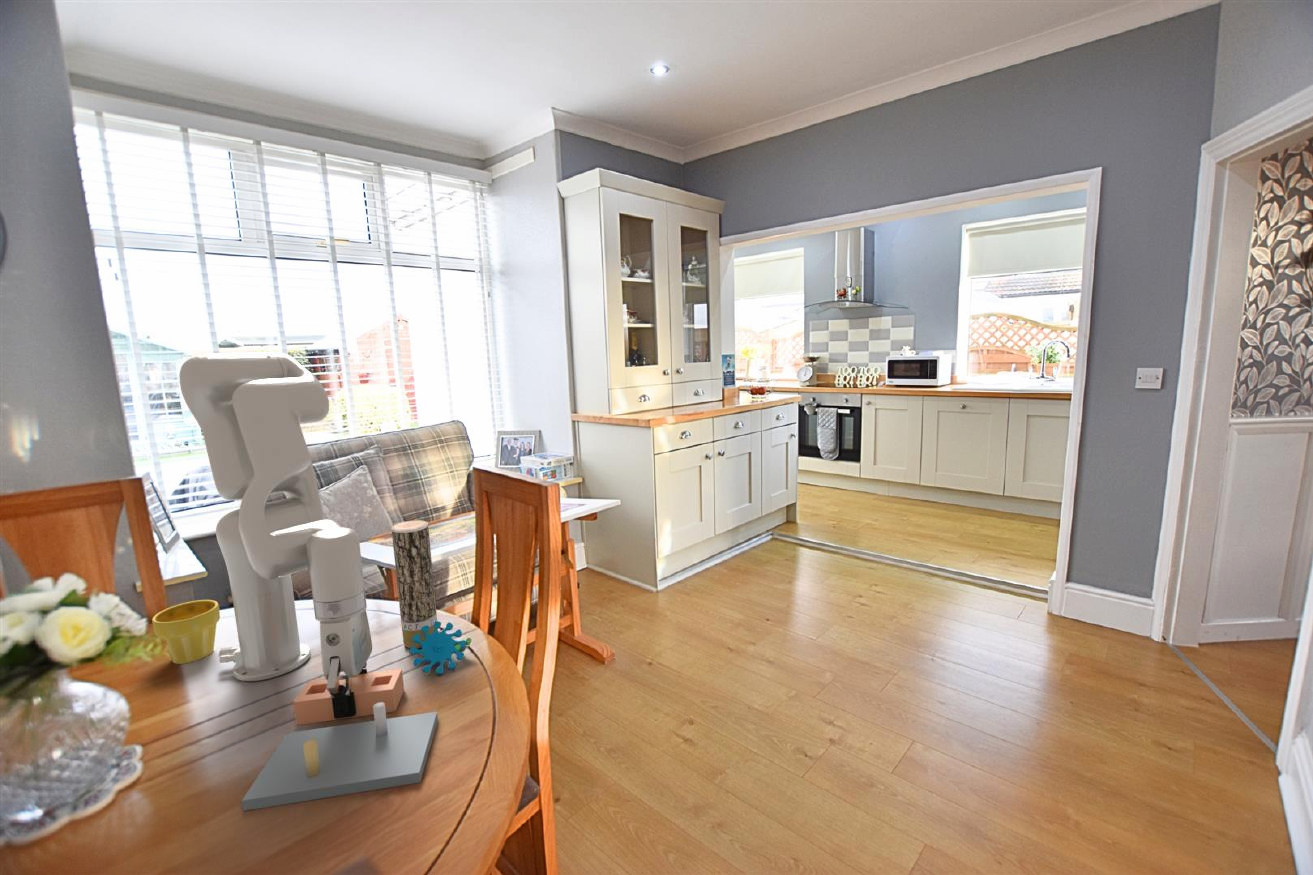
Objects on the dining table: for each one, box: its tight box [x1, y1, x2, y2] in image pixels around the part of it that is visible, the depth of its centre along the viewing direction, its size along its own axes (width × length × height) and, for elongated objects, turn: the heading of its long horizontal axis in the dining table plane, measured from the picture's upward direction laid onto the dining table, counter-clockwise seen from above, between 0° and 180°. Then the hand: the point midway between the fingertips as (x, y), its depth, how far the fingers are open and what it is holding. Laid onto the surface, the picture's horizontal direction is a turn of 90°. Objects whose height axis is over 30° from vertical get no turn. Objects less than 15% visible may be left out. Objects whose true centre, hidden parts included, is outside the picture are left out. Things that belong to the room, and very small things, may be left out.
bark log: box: [391, 519, 439, 649], centre depth 118 cm, size 7×7×25 cm
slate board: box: [241, 702, 439, 812], centre depth 84 cm, size 22×14×6 cm, turn 101°
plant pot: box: [151, 599, 221, 665], centre depth 117 cm, size 10×10×10 cm
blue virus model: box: [409, 620, 473, 675], centre depth 111 cm, size 11×6×10 cm
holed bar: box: [293, 668, 405, 726], centre depth 98 cm, size 15×6×4 cm, turn 101°
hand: (352, 702), depth 98 cm, fingers closed on holed bar, 6 cm apart
